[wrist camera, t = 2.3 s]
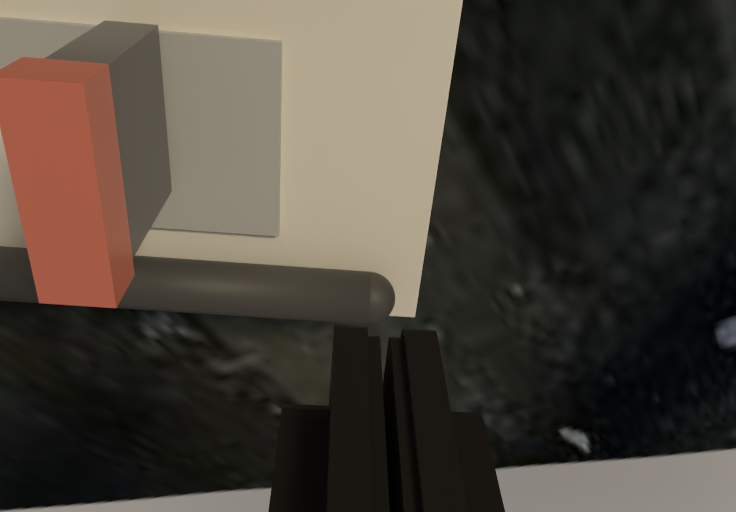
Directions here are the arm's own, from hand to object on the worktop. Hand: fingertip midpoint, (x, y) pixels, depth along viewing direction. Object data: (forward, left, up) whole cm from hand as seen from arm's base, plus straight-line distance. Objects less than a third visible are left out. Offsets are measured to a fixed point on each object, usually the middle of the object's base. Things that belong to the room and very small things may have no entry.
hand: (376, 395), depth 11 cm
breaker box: (+8, 0, -18) cm, 19 cm away
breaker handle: (+8, 0, -13) cm, 15 cm away
